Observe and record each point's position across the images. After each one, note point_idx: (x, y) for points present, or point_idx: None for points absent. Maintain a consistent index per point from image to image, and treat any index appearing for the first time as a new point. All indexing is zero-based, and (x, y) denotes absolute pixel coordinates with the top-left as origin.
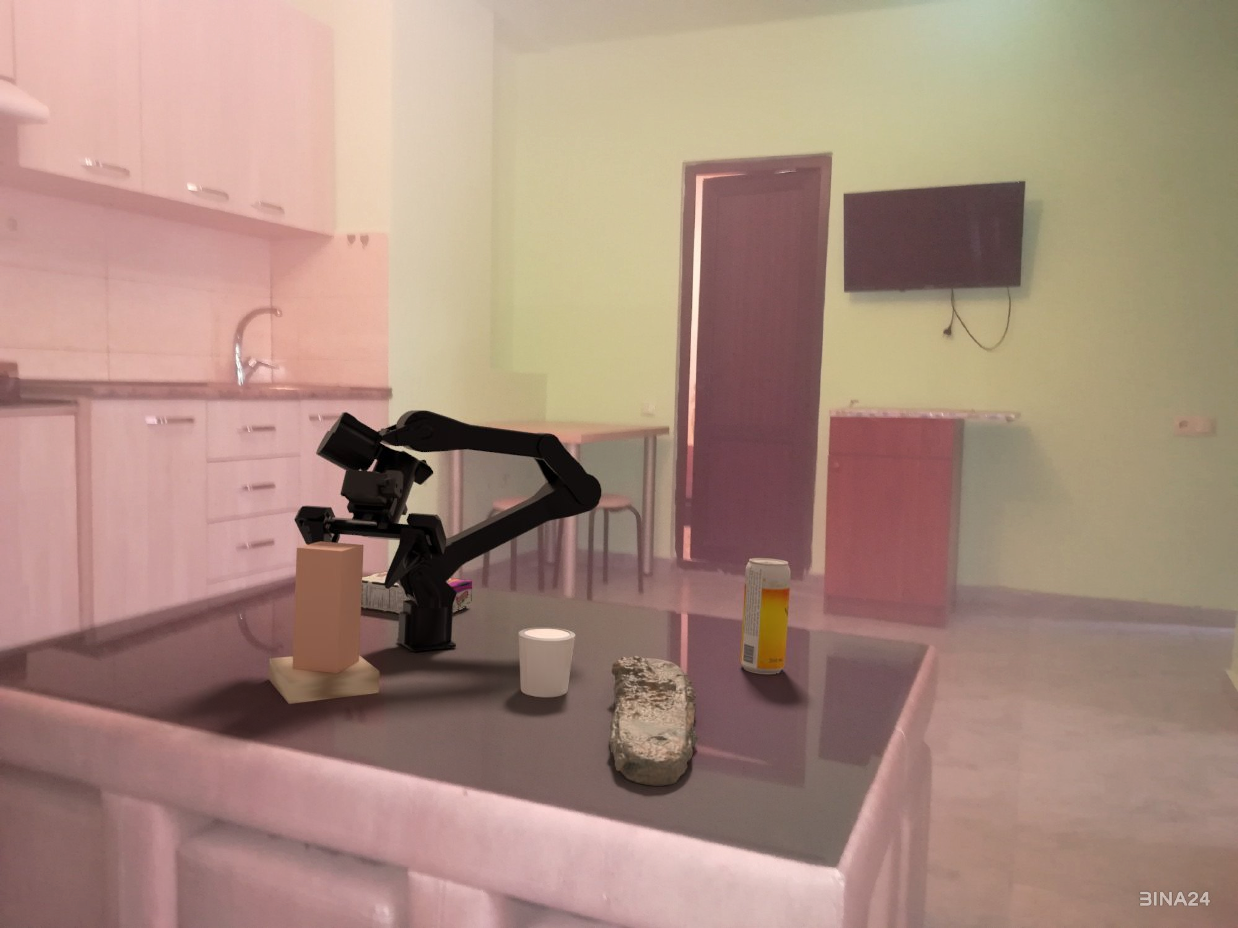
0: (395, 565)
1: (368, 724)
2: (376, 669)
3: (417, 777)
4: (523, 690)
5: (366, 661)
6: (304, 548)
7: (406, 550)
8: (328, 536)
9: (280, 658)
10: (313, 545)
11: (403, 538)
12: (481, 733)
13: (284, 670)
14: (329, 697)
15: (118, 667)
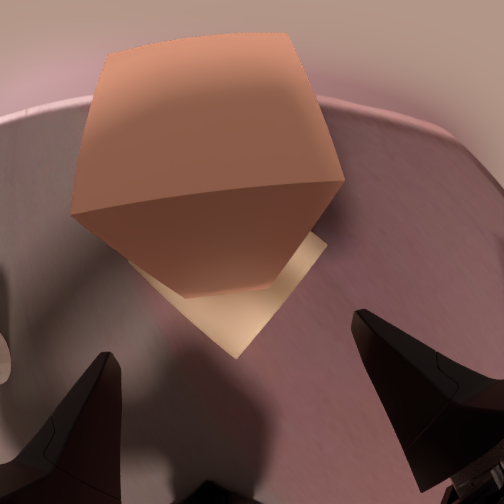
0: (69, 399)
1: None
2: (136, 268)
3: (50, 109)
4: (3, 339)
5: (174, 304)
6: (255, 33)
7: (28, 449)
8: (464, 458)
9: (313, 252)
10: (275, 75)
11: (16, 478)
12: (15, 198)
13: None
14: None
15: (468, 219)
